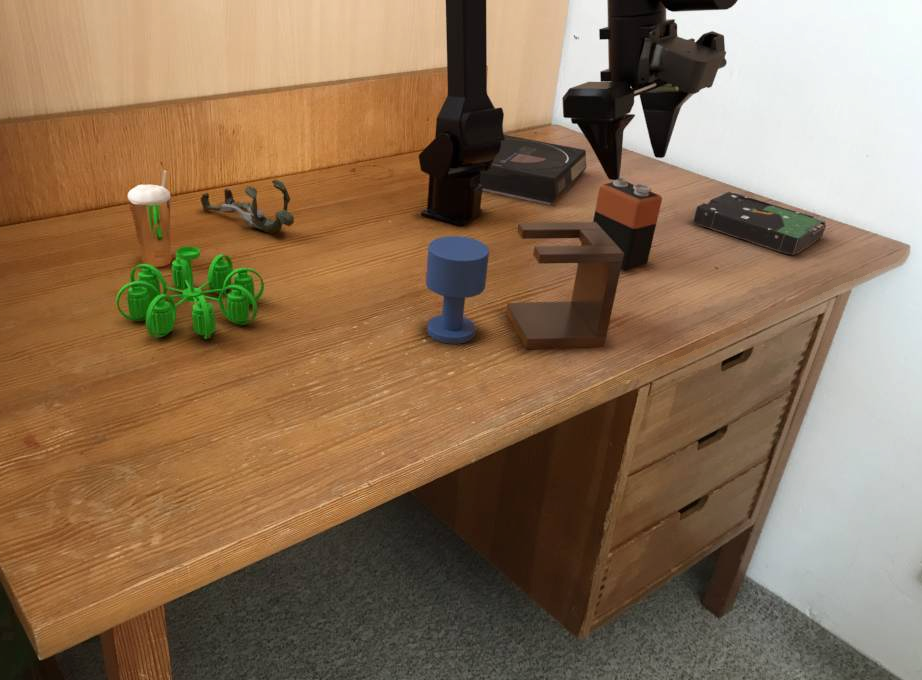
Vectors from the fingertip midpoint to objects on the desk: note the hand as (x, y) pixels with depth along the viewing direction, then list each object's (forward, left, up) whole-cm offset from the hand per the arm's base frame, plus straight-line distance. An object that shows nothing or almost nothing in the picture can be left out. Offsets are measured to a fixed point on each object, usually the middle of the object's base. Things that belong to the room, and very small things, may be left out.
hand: (637, 168), depth 90 cm
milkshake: (-46, -27, -15) cm, 56 cm away
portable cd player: (-25, +28, -15) cm, 40 cm away
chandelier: (-34, -34, -15) cm, 50 cm away
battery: (-2, +8, -15) cm, 17 cm away
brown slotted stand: (-2, -14, -14) cm, 20 cm away
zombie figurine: (-45, -12, -15) cm, 49 cm away
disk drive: (+11, +30, -15) cm, 35 cm away
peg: (-10, -21, -14) cm, 28 cm away
